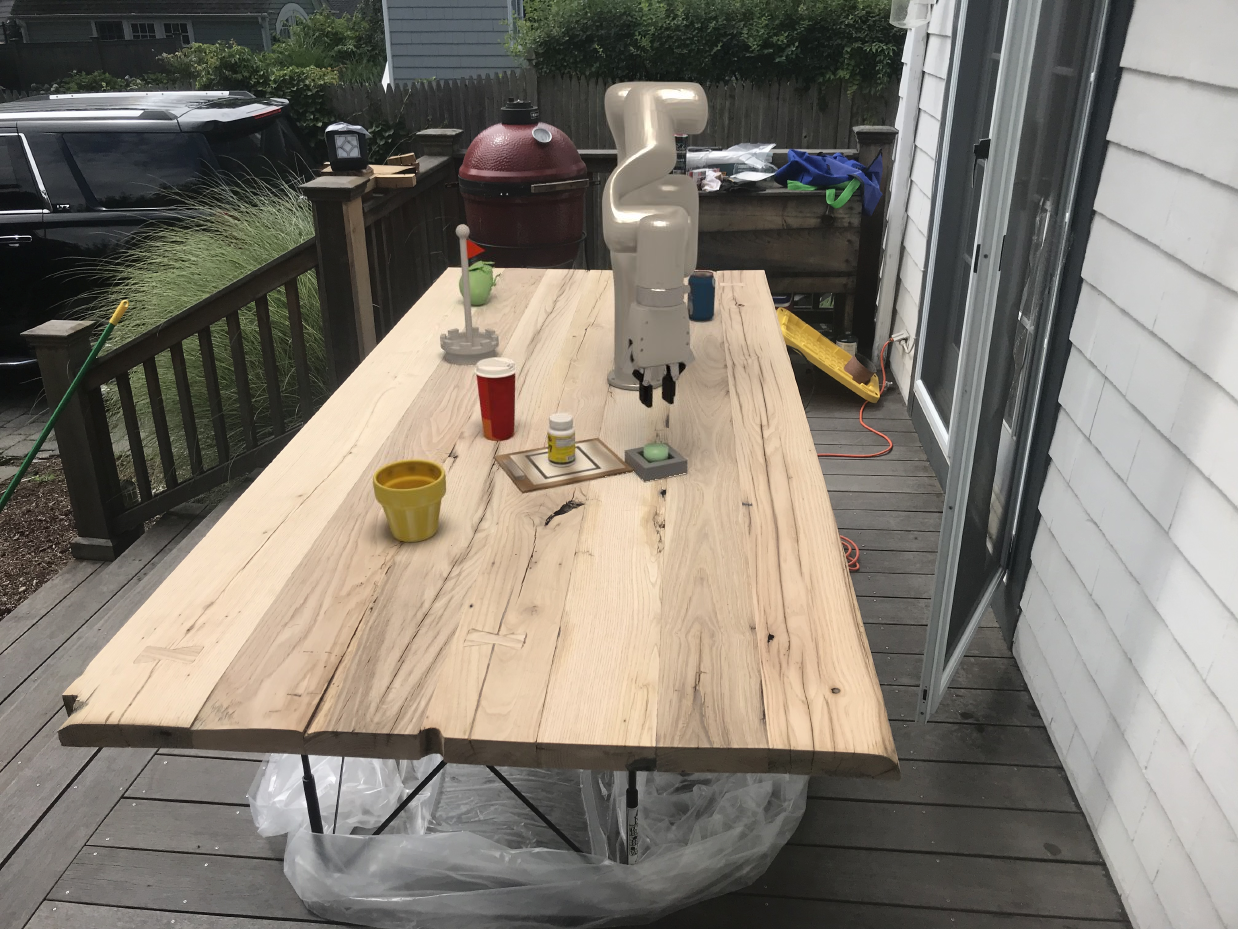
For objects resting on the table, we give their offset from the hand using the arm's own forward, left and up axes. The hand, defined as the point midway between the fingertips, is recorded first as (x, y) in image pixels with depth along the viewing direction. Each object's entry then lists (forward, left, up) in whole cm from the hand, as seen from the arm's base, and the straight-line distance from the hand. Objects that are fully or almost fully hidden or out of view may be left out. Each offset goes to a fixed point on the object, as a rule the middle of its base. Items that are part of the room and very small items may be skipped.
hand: (657, 402), depth 158 cm
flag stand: (+12, -70, -13) cm, 72 cm away
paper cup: (+20, -25, -12) cm, 34 cm away
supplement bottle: (+14, -8, -12) cm, 20 cm away
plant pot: (+43, +5, -12) cm, 45 cm away
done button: (0, 0, -11) cm, 11 cm away
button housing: (0, 0, -12) cm, 12 cm away
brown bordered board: (+14, -8, -12) cm, 20 cm away
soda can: (-51, -76, -12) cm, 92 cm away
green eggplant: (-4, -113, -12) cm, 114 cm away
